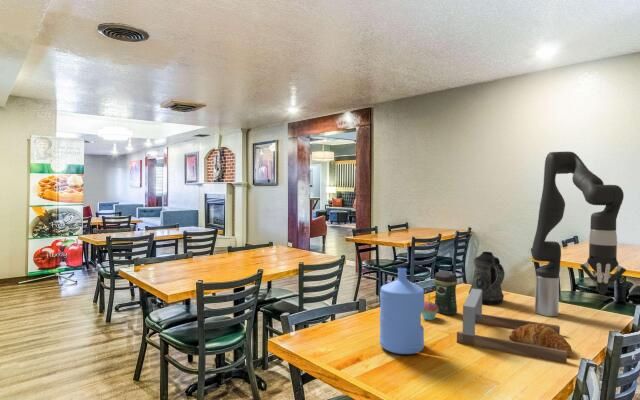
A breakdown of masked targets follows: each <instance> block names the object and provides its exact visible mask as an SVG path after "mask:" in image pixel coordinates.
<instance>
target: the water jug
mask: <svg viewBox="0 0 640 400" xmlns="http://www.w3.org/2000/svg"><path fill="white" fill-rule="evenodd" d="M407 271H408V269H407V268H406V267H399V268H398V267H397V279H395V280H392V281H390V282H388V283H386V284H383V285H382V286H380V292H379V300H380V306H379V307H380V312H379V313H380V314H379V322H380V323H379V345H380V346H381V347H382V348H383V349H385V350H386V351H388V352H391V353H393V354H398V355H413V354H417V353H420V352H421V351H423V349H424V348H425V347H424V346H425V340H424V339H425V338H424V337H425V335H424V334H425V333H424V332H425V331H424V330H425V329H424V326H423V325H422V322H421V321H422V311H423V310H424V302H425V298H426V297H425V289H424V288H423V287H421V286H419V285H417V284H416V283H414V282H411V281H410V280H408V279H407V278H408V277H407V276H408V273H407Z"/></svg>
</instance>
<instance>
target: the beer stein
mask: <svg viewBox="0 0 640 400" xmlns="http://www.w3.org/2000/svg"><path fill="white" fill-rule="evenodd" d="M500 263H501V261H500V258H498V257H496V256H495V255H494V254H493V252H491V251H482V252H481V254H479V255H478V256H476V257H475V258H474V259H473V264H474V270H473V275H472V282H471V285H470V287H469V290H468V295H469V294H470V292H471V290H472V289H480V290H482V305H487V306H488V305H489V306H490V305H491V306H497V305H502V304H503V301H504V295H505V294H504V293H503V291H502V290H503V289H502V286H501V285H502V284H503V281H504V279H505V270H504V267H503V265H502V264H500Z"/></svg>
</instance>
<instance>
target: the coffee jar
mask: <svg viewBox="0 0 640 400" xmlns="http://www.w3.org/2000/svg"><path fill="white" fill-rule="evenodd" d="M434 284H435V297H434V298H435V299H434V304H436V305H437V306H438V309H439V311H438V312H437V313H438V314H442V315H446V316H451V315H452V316H453V315H456V314H457V313H458V308H457V307H458V305H457V292H456V288H457V284H458V278H457V274H456V273H452V272H446V271H437V272H436V273H435V275H434Z"/></svg>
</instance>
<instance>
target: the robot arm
mask: <svg viewBox="0 0 640 400" xmlns="http://www.w3.org/2000/svg"><path fill="white" fill-rule="evenodd" d="M543 170H544V171H543V172H544V173H543V186H542V193H541V197H540V202H539V211H538V220H537V225H536V231H535V235H534V238H533V239H534V240H533V243H532V248H531V255H532V256H531V257H532V258H533V260H534V261H537V262H546V263H547V262H548V264H546V265H544V266H541V267H539V268H536V269H535V284H534V285H535V286H534V287H535V291H534V292H535V293H534V296H535V297H534V300H535V301H534V313H536V314H537V315H541V316H544V317H558V316H559V308H560V307H559V304H560V303H559V301H560V298H559V297H560V294H559V292H560V272H561V261H562V259H561V258H562V248H561V245H560V242H558V241H548V240H547V241H546V238H547V236H548V235H549V234H550V232H551V231H553V229H554V228H556V227H557V226H558V224H559V223H560V222H561V221H562V219H563V217H564V215H565V214H564V213H565V209H566V201H565V199H564V197H563V195H562V194H561V192H560V190H559V188H558V187H557V182H556V177H557V175H562V174H563V175H565V174H567V175H568V174H572V179H571V180H572V183H573V185H574V186H575V187H576V188H577V189H578V190H580V191H581V192H582V194H583V198H584V201H585V202H586V203H588V205H589V204H590V205H593V206H604V208H603V209H602V210H601V211H598V212H597V211H596V212H593V213H592V214H591V215H590V228H589V229H590V230H589V237H588V238H589V241H588V243H589V244H588V248H589V249H588V258H587V261H585V263H581V264H579V266H580V268H581V269H582V270H583V271H584V272H585V274H586V275H587V276H588V277H589V278H590V279H591V281H595V282H596V291H597V292H598V293H599V294H601V295H605V294H606V293H608V286H609V285H608V284H609V283H614V282H615V281H617V280H618V279H619V278H620V277H621V276H622V275H624V273H626V272H627V270H626V268H625V267H623V266H622V265H620V264H619V262H618V258H617V256H618V254H617V253H618V252H617V251H618V249H617V247H618V246H617V245H618V234H617V219H618V216H619V212H620V210H621V206H622V205H623V201H624V196H625V194H624V191H623V189H622V188H621V186H619V185H618V184H617V185H616V184H604V181H603V180H602V179H601V178H600V177H599V176H598V175H596V174H594V172H592V171H591V170H590V169H589V168H588V167H587V166H586V165H585V163H584V162H583V160H582V159H581V158H580V156H578V154H576V153H575V152H574V151H550V152H548V154H547V155H546V157H545V160H544V168H543ZM590 268H591V269H592V270H593V271H594V272H595V275H593V274H592V272H591V271H590ZM614 270H615V272H614V273H613V274H611V276H610V273H612V272H613V271H614Z"/></svg>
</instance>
